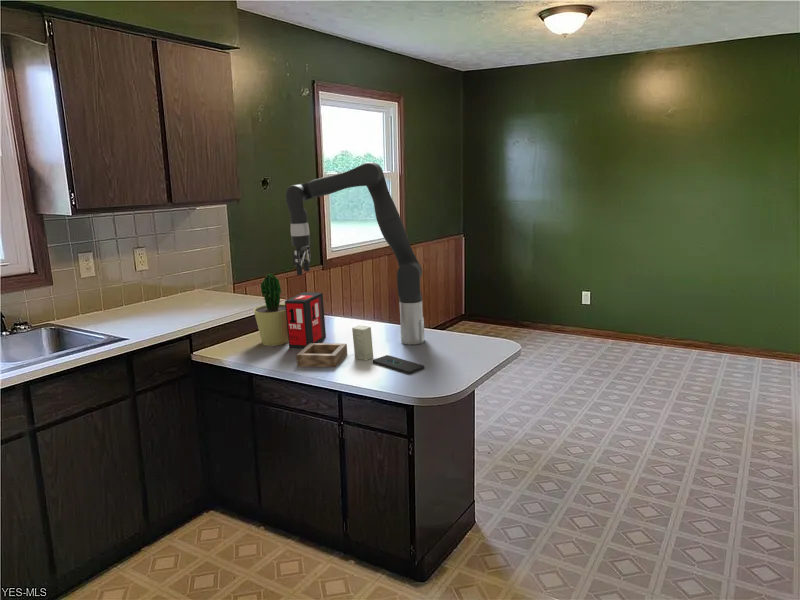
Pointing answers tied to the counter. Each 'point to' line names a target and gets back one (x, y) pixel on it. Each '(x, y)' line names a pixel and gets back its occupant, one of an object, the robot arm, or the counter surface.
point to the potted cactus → (272, 314)
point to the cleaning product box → (305, 319)
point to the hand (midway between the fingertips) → (303, 273)
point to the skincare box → (362, 342)
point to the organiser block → (321, 355)
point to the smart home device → (398, 364)
